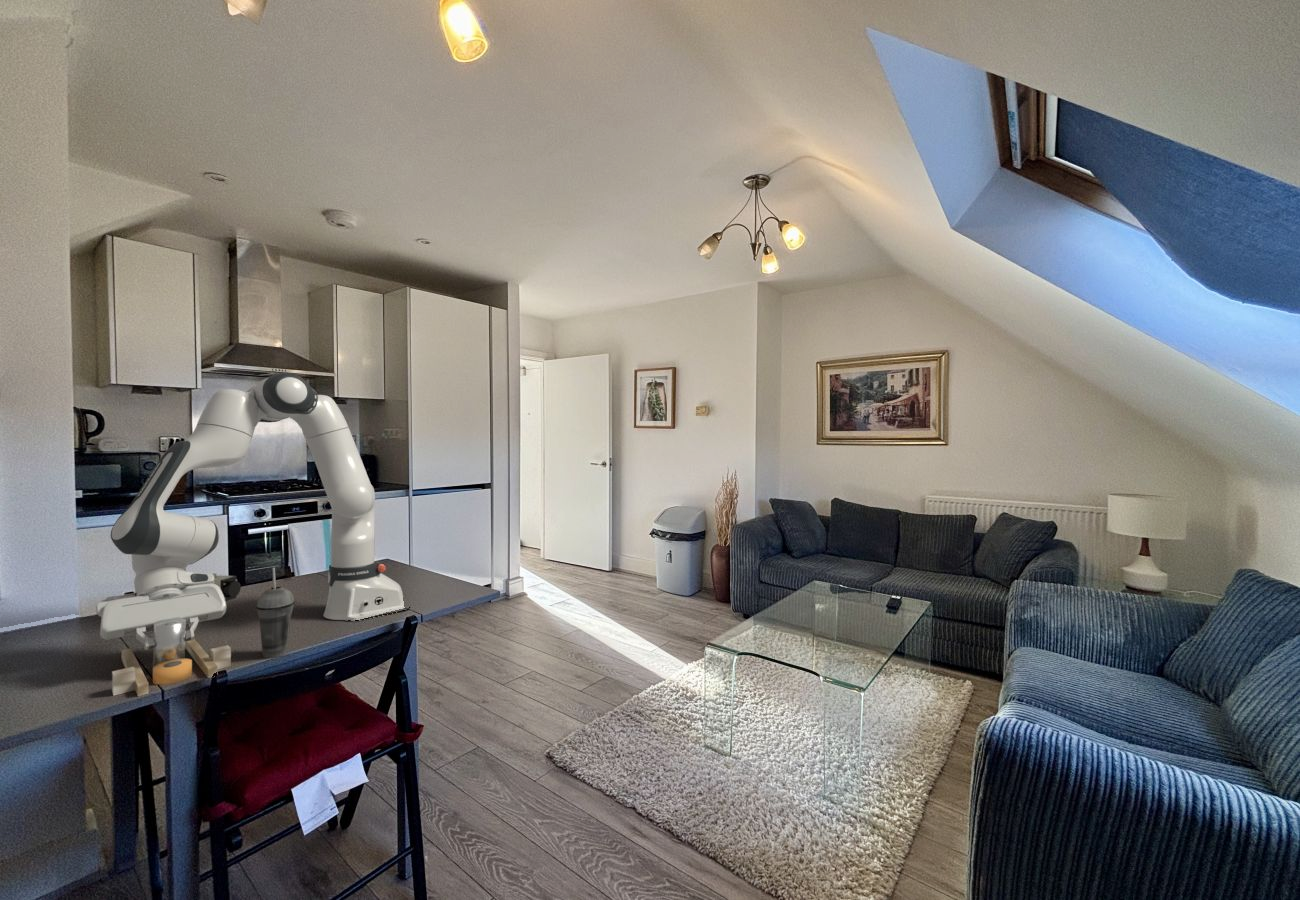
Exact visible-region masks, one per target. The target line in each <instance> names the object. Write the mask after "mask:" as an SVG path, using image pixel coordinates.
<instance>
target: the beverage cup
mask: <svg viewBox="0 0 1300 900" xmlns="http://www.w3.org/2000/svg"><path fill="white" fill-rule="evenodd" d="M271 568H272V569H271V570H272V587H270V588H268V589H266V590H265V591H264V592H262V593H261V594H260V595H259V597H258V599H257V603H256V606H255V609H256V610H257V611H256V612H257V616H258V619H259V620H258V621H259V629H260V640H261V641H260V642H261V651H262V655H263V658H265V659H273V658H279V657H282V656H284V655H286V654H287V653H288V647H289V642H290V633H291V632H290V631H291V623H292V614H293V609H294V604H295V599H294V595H293V593H292V592H291V590H289V589H288V588H286V587H284V586H277V585H276V584H277V583H276V568H275V567H271Z"/></svg>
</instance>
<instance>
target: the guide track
mask: <svg viewBox="0 0 1300 900" xmlns="http://www.w3.org/2000/svg"><path fill="white" fill-rule="evenodd" d="M185 651H187V652H188V653H189V655H190V656H191V658H192V659H193V660H194V661H195V663H196V664H197V666H199V668H200V670H202V672H203V674H204V675H205V676H206V677H207V678H208V679H210V678H213V677H212V676H213V674H214V673H216V672H217V673H218V670H220V669H224V668H229V667H231V666H232V665H231V664H232V659H231V657H232V652H231V651H232V648H231V647H230V645H228V644H227V645H222V646H218V647H214V648H210V655H209V654H208V653H207V652H206V651H205V649H204V648H203V647H202V646H201V644H200V643H199V642H197V640H196V638H194V640H190V641H186V642H185ZM121 661H122V664H123V666H124V668H122V669H117V670H113V671H111V692H112V695H113V696H118V695H122V694H125V693H130V692H133V691H134V692H135V693H136V695H137V697H141V696H145V695H148V694H149V684H150V683H149V681H148V679H147V678H146V676H145V674H144V671H143V670H142V667H141V666H140V664H139V662H138V660H137V658H136V656H135V653H134V652H133V650H132V648H126V649H121Z"/></svg>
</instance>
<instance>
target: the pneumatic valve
mask: <svg viewBox="0 0 1300 900" xmlns="http://www.w3.org/2000/svg"><path fill="white" fill-rule="evenodd" d="M212 574H213V575H214V584H216V585H218V586H219V587H220V589H221V590H222V593H223V595H224V598H225V601H226V602H228V601H231V600H234V599H237V596H238V595H239V594H240V591H241V589H242V586H241V585H242V584H241V583H240V582H239V581H238V579H237V575H222V574H221V575H217V573H212ZM226 612H227V610H226V611H225V613H224V615H225V614H226Z"/></svg>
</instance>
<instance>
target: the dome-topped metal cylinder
mask: <svg viewBox="0 0 1300 900" xmlns="http://www.w3.org/2000/svg"><path fill="white" fill-rule="evenodd" d="M186 626H187V624H186V619H185V618H181V617H176V618H170V619H165V620H160V621H157V622H156V623H155V624H154V631H153V637H154V642H155V648H153V649H152V651H153V653H152V654H153V655H152V668H153V667H154V666H156V665H158V664H160V663H163V662H166V661H170V660H175V659H186V658H185V657H186V648H185V631H187V630H186V628H187V627H186Z"/></svg>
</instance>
